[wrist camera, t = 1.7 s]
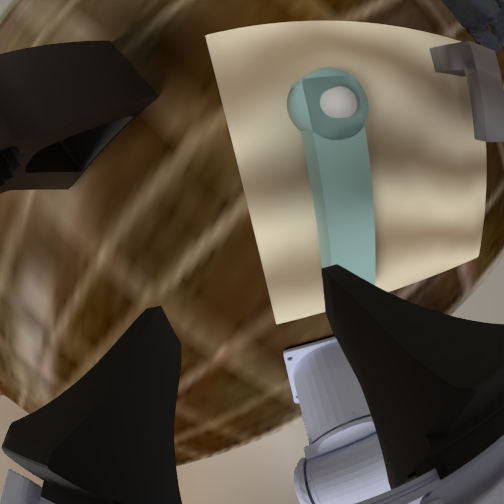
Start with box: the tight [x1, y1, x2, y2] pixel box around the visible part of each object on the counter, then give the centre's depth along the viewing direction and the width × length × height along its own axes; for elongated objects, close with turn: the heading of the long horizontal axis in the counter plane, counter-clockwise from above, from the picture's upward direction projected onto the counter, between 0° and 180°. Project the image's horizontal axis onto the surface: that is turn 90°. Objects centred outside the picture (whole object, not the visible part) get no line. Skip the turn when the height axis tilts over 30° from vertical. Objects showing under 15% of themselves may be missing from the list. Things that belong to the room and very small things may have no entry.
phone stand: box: [0, 41, 158, 193], centre depth 8 cm, size 9×6×12 cm, turn 126°
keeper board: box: [205, 21, 504, 324], centre depth 15 cm, size 21×22×6 cm
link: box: [287, 68, 375, 285], centre depth 15 cm, size 16×4×3 cm, turn 13°
